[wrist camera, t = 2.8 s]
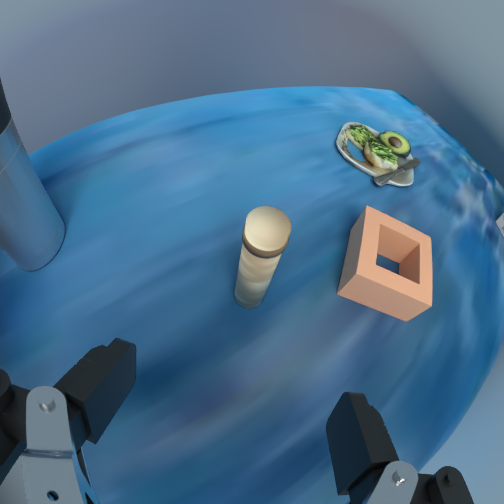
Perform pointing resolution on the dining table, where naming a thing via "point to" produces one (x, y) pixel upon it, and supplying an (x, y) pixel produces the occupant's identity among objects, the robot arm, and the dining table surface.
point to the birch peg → (260, 253)
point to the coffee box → (501, 223)
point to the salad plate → (379, 154)
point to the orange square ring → (379, 279)
